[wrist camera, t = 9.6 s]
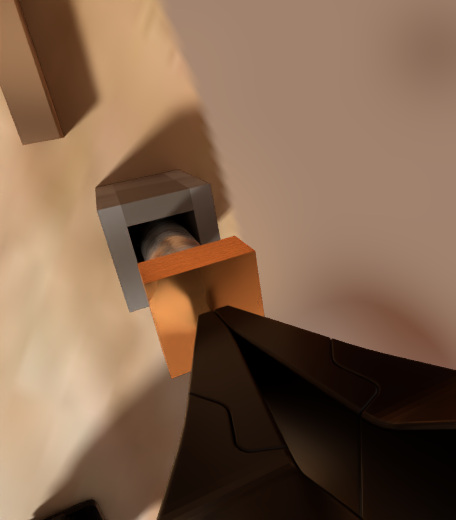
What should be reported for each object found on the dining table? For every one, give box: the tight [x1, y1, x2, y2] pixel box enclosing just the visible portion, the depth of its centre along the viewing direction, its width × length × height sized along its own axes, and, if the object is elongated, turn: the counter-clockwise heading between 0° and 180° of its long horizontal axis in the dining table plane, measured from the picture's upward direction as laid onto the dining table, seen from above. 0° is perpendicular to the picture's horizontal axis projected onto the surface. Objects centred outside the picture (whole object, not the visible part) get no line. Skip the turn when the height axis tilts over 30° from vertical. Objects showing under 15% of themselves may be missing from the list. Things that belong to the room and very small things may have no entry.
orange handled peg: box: [137, 216, 264, 379], centre depth 13 cm, size 3×3×8 cm
